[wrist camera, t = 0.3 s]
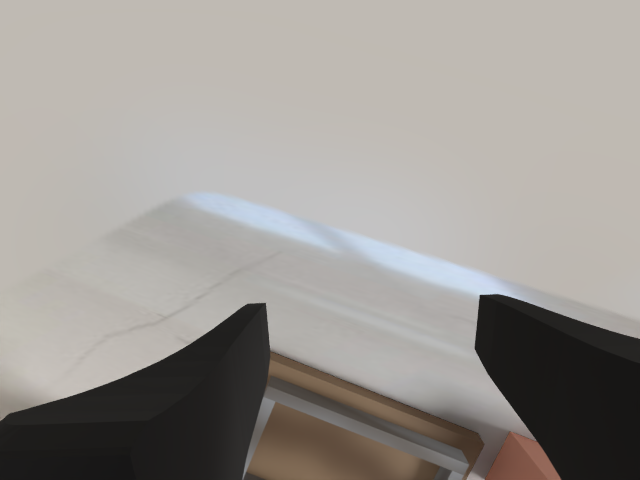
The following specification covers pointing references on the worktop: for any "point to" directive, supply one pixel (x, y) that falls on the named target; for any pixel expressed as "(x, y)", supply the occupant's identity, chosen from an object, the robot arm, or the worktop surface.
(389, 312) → the worktop surface
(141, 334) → the worktop surface
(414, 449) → the cradle
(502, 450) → the block
